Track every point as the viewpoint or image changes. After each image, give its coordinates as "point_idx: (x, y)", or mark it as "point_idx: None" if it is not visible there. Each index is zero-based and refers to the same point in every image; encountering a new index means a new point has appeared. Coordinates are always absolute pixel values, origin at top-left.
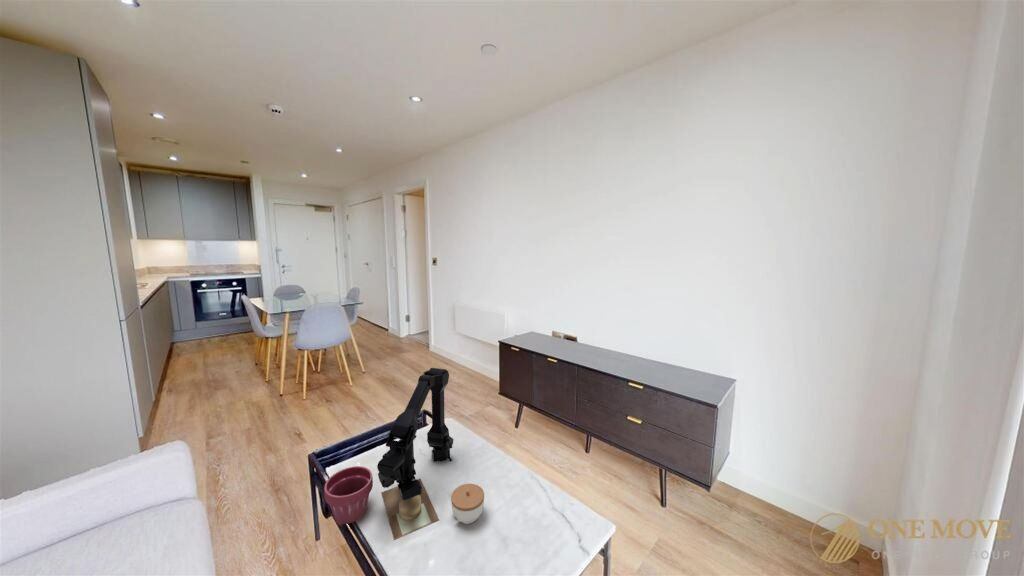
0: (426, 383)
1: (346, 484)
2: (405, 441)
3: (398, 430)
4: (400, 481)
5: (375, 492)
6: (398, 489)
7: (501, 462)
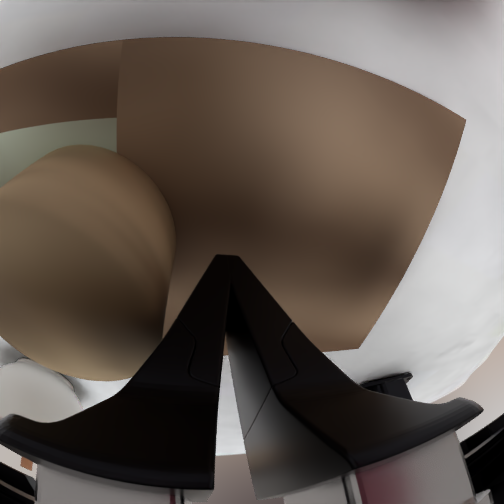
0: None
1: None
2: None
3: None
4: (304, 464)
5: (484, 104)
6: (398, 230)
7: (223, 453)
